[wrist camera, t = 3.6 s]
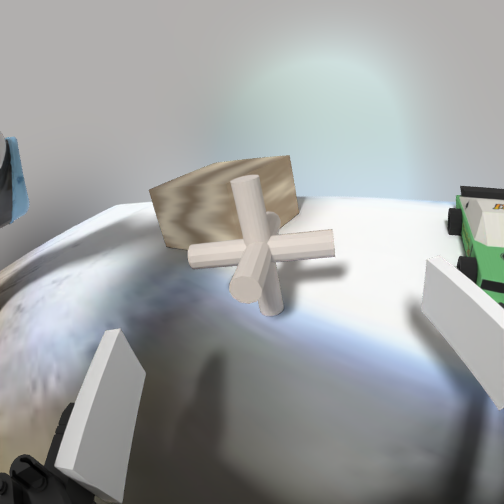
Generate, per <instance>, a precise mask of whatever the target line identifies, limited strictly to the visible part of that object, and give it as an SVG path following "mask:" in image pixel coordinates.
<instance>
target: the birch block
mask: <svg viewBox="0 0 504 504" xmlns="http://www.w3.org/2000/svg"><path fill="white" fill-rule="evenodd" d="M247 175H259V179H260V184H261V189H262V194H263V199H264V204H265V209H266V212H268V211H269V212H274V213H276V214H277V215H278V216H279V218H280V220H281V223H280V228H281V227H282V226H283V225H285V224H286V223H287V222H288V221H290V220H291V219H292V218H293V217H295V216H296V215H297V214H298V213H299V209H298V203H297V197H296V191H295V184H294V179H293V173H292V167H291V161H290V156H289V155H287V156H275V157H263V158H253V159H243V160H235V161H226V162H218V163H213V164H211V165H208V166H206V167H203V168H200V169H198V170H195V171H193V172H190V173H188V174H185V175H183V176H180V177H178V178H176V179H173V180H171V181H168V182H166V183H164V184H161V185H159V186H157V187H154V188H152V189H150V190H149V192H150V195H151V199H152V203H153V206H154V209H155V213H156V216H157V219H158V222H159V225H160V228H161V232H162V235H163V238H164V241H165V244H166V247H171V248H178V249H185V250H188V249H189V246H190V245H192V244H200V243H209V242H218V241H226V240H235V239H243V235H242V231H241V226H240V222H239V218H238V213H237V209H236V204H235V200H234V196H233V191H232V187H231V183H230V181H231V180H233V179H235V178H238V177H242V176H247ZM280 228H279V229H280Z"/></svg>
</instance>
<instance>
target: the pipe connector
mask: <svg viewBox="0 0 504 504" xmlns="http://www.w3.org/2000/svg"><path fill="white" fill-rule="evenodd" d="M230 183H231V187H232V191H233V196H234V200H235V204H236V209H237V213H238V218H239V222H240V226H241V231H242V235H243V239H235V240H226V241H218V242H209V243H200V244H192V245H190V246H189V249H188V262H189V264H190V266H191V268H193V269H203V268H215V267H227V266H237V269H236V271H235V273H234V275H233V277H232V280H231V282H230V285H229V291H230V293H231V295H232V296H233V298H234V299H236V300H238V301H239V302H241V303H247V304H250V303H253V302H256V301H257V300H258V304H259V308H260V312H261V313H262V314H263V315H265V316H275V315H277V314H279V313H281V312H282V311H283V309H284V305H283V299H282V294H281V288H280V283H279V277H278V272H277V267H276V262H284V261H295V260H305V259H316V258H327V257H335V248H334V238H333V230H332V229H328V230H319V231H309V232H299V233H290V234H281V235H278V232H279V228H280V223H281V220H280V218H279V216H278V215H277V214H276V213H274V212H269V211H268V212H266V209H265V204H264V199H263V194H262V189H261V184H260V179H259V175H247V176H242V177H238V178H235V179H233V180H231V181H230Z"/></svg>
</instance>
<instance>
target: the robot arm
mask: <svg viewBox="0 0 504 504" xmlns="http://www.w3.org/2000/svg"><path fill="white" fill-rule="evenodd" d="M28 209H29V199H28V194H27V190H26V186H25V181H24V177H23V172H22V166H21V160H20V155H19V149H18V143H17V139H16V138H15V137H10V138H9V137H8V138H4V136H3V134H2V133H1V132H0V228H2V227H4V226H6V225H8V224H11V223H13V222H14V220H16V219H17V218H19V217H21V216H23V215H24V214H25V213H26V212H27V211H28ZM421 311H422V312H423V313H424V315H425V316H426V317H427V318H428V319H429V320H430V322H431V323H432V324H433V325H434V326H435V327H436V329H437V330H438V331H439V332H440V333H441V335H442V336H443V337H444V338H445V339H446V341H447V342H448V343H449V344H450V346H451V347H452V348H453V349H454V351H455V352H456V353H457V354H458V356H459V357H460V358H461V359H462V361H463V362H464V363H465V364H466V366H467V367H468V368H469V370H470V371H471V372H472V374H473V375H474V376H475V378H476V379H477V380H478V382H479V383H480V384H481V386H482V387H483V388H484V390H485V391H486V392H487V394H488V395H489V397H490V398H491V399H492V401H493V402H494V404H495V405H496V407H497V408H498V409H499V411H500V410H501V409H503V408H504V303H502V302H499V303H497V302H496V301H494V300H493V299H492V298H491V297H490V296H489V295H488V294H486V293H485V292H484V291H483V290H482V289H481V288H480V287H478V286H477V285H476V284H475V283H474V282H472V281H471V280H470V279H469V278H468V277H466V276H465V275H464V274H463V273H462V272H460V271H459V270H458V269H457V268H455V267H454V266H453V265H452V264H450V263H449V262H448V261H446V260H445V259H444V258H443V257H441V256H440V255H439V256H436V257H432V258H429V259H427V261H426V272H425V282H424V290H423V298H422V305H421ZM145 376H146V372H145V371H144V369H143V367H142V366H141V364H140V362H139V361H138V359H137V357H136V356H135V354H134V352H133V350H132V349H131V347H130V345H129V343H128V341H127V340H126V338H125V336H124V334H123V332H122V330H121V328H119V329H113V330H106V331H105V333H104V335H103V337H102V339H101V342H100V344H99V346H98V348H97V351H96V353H95V355H94V358H93V360H92V362H91V365H90V367H89V369H88V372H87V374H86V377H85V379H84V382H83V384H82V387H81V389H80V392H79V394H78V397H77V400H76V402H75V403H70V404H69V405H68V406H67V408H66V409H65V410H64V411H63V413H62V415H61V418H60V421H59V423H58V424H59V426H57V429H56V432H55V433H56V435H54V437H53V440H52V443H51V446H50V449H49V452H48V455H47V458H46V461H45V464H44V466H43V465H42V464H40V463H39V462H38V461H37V460H35V459H34V458H33V457H31V456H30V455H26V454H23V455H21V456H18V457H17V458H16V459H15V460H14V461H13V463H12V464H11V467H10V471H9V472H10V476H9V475H8V474H6V473H0V504H96V502H95V501H94V496H97V497H99V498H100V499H102V500H103V501H107V502H114V503H121V504H122V502H123V495H124V487H125V480H126V474H127V468H128V461H129V455H130V450H131V444H132V439H133V433H134V428H135V423H136V418H137V413H138V408H139V403H140V399H141V394H142V389H143V385H144V380H145Z"/></svg>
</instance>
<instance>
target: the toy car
mask: <svg viewBox="0 0 504 504" xmlns="http://www.w3.org/2000/svg"><path fill="white" fill-rule="evenodd" d="M460 188H461V195H457V196H456V208H449V212H448V231H449V235H462V239H463V243H464V248H465V252H466V257H464V256H460V257H459V259H458V263H457V269H458V270H459V271H460V272H462V273H463V274H464V275H465V276H466V277H468V278H469V279H470V280H471V281H472V282H474V283H475V284H476V285H477V286H478V287H480V288H481V289H482V290H483V291H484V292H485V293H486V294H488V295H489V296H490V297H491V298H492V299H493V300H494V301H496V302H497V303H499V302H502V303H504V189H496V188H483V187H470V186H460Z"/></svg>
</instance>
